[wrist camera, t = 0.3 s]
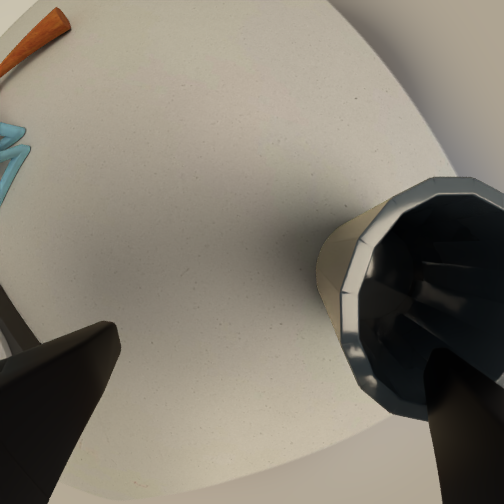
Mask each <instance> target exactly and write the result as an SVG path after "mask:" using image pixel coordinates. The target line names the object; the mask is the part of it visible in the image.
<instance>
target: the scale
mask: <svg viewBox="0 0 504 504" xmlns="http://www.w3.org/2000/svg"><path fill="white" fill-rule="evenodd" d="M38 345H41V344H40V343H39V342H38V340H37V339H36V337H35V336H34V335H33V333H32V332H31V331H30V329H29V328H28V326H27V325H26V324H25V322H24V321H23V319H22V318H21V316H20V315H19V313H18V312H17V310H16V309H15V307H14V306H13V304H12V303H11V301H10V300H9V298H8V297H7V295H6V293H5V292H4V290H3V289H2V287H1V285H0V360H2V359H5V358H8V357H10V356H13V355H15V354H18V353H20V352H23V351H26V350H28V349H31V348H33V347H36V346H38Z"/></svg>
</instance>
